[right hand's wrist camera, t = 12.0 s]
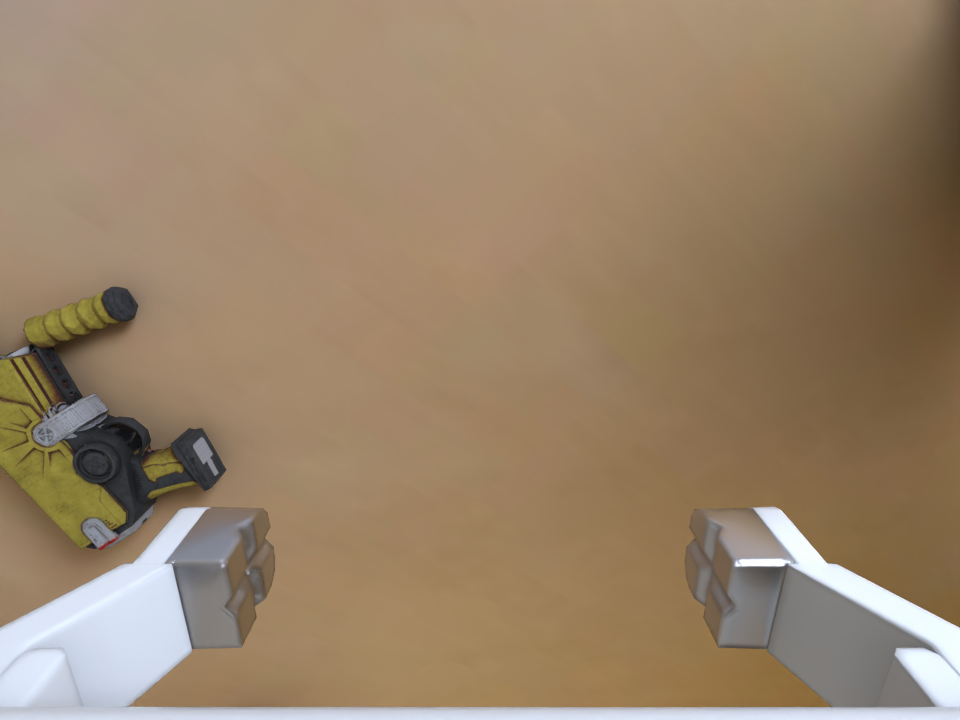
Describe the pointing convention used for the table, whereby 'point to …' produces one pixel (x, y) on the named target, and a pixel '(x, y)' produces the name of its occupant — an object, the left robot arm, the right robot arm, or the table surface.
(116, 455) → the toy gun
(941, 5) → the table surface
